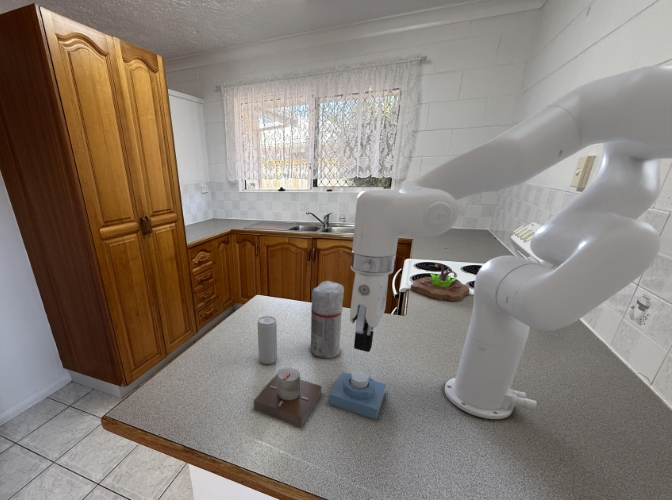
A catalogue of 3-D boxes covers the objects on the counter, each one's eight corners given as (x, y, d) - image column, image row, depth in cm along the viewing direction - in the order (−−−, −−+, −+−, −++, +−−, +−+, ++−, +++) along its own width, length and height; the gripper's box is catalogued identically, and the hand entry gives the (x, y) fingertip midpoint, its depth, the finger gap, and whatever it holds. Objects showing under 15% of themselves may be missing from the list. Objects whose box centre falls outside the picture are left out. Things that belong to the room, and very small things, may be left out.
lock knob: (283, 383, 70) (283, 363, 68) (303, 389, 68) (303, 369, 66) (273, 396, 66) (273, 375, 64) (294, 403, 64) (294, 382, 62)
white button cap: (369, 381, 68) (370, 374, 67) (365, 391, 65) (366, 383, 64) (353, 376, 69) (353, 369, 69) (348, 386, 67) (349, 378, 66)
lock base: (321, 395, 70) (321, 385, 69) (301, 428, 61) (301, 417, 60) (278, 380, 75) (278, 371, 74) (254, 409, 66) (253, 399, 65)
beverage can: (265, 353, 86) (263, 314, 82) (280, 358, 84) (279, 318, 79) (255, 362, 82) (253, 321, 78) (271, 367, 80) (270, 326, 75)
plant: (426, 279, 139) (431, 255, 135) (474, 291, 125) (481, 264, 121) (403, 290, 128) (407, 264, 123) (453, 304, 114) (459, 275, 109)
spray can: (339, 361, 82) (345, 291, 74) (308, 358, 84) (310, 289, 76) (339, 344, 90) (345, 279, 82) (311, 342, 91) (313, 277, 83)
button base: (384, 393, 70) (387, 377, 68) (376, 420, 63) (378, 402, 61) (341, 380, 75) (342, 365, 73) (328, 404, 67) (330, 387, 66)
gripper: (386, 276, 49) (373, 373, 56) (400, 254, 61) (388, 336, 68) (339, 270, 52) (333, 362, 59) (362, 250, 64) (354, 329, 71)
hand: (362, 348), depth 64 cm, fingers closed
